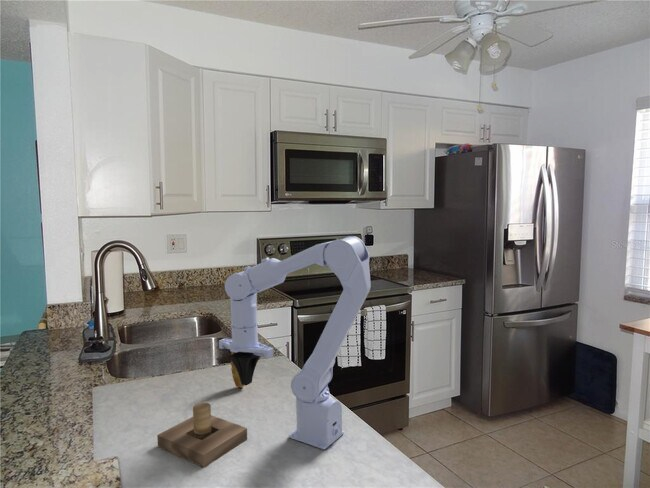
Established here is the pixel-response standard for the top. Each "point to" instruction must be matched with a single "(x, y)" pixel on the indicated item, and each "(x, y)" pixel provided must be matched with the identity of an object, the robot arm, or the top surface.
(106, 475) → the top surface
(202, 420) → the dowel
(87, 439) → the top surface
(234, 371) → the stone tool
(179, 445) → the board
